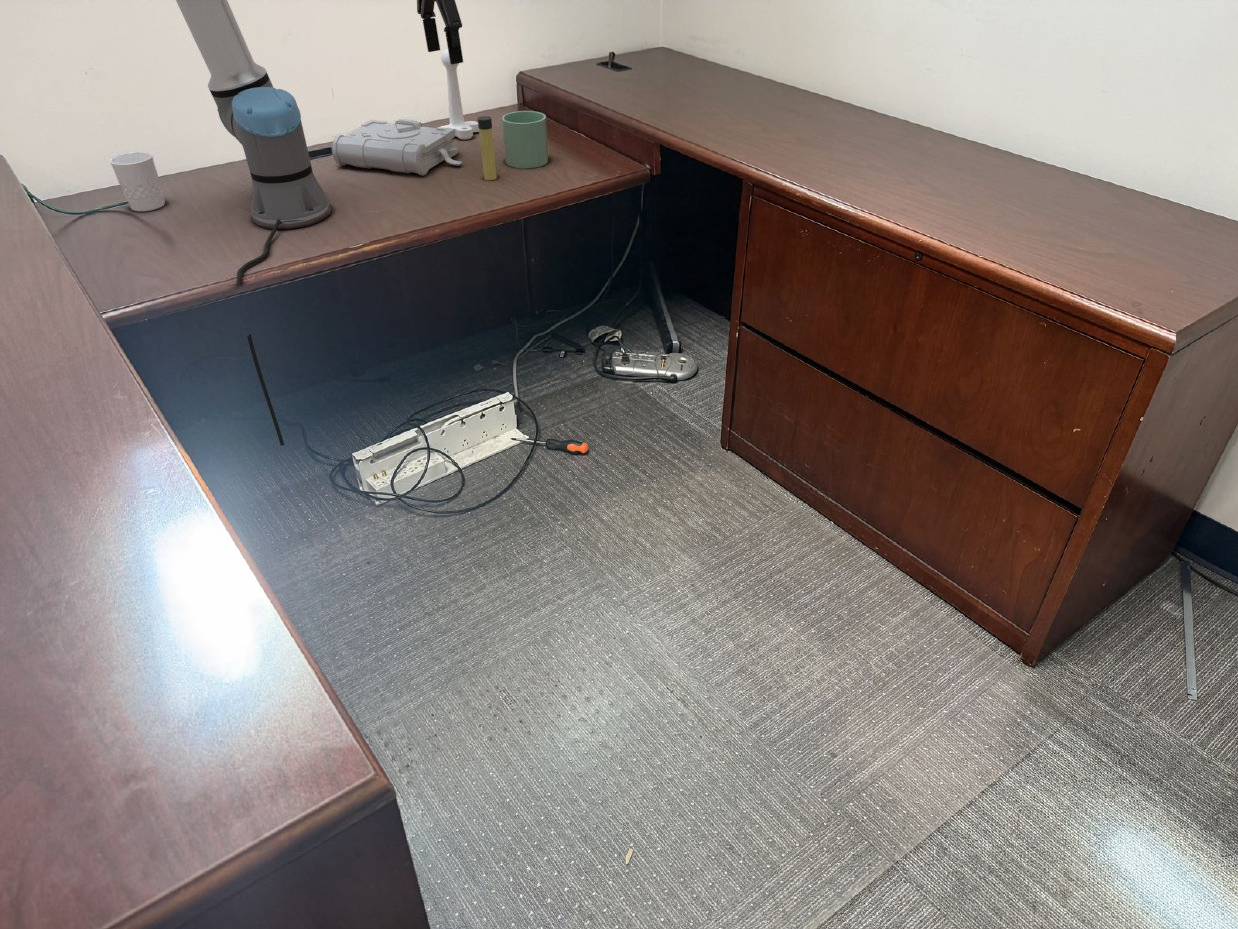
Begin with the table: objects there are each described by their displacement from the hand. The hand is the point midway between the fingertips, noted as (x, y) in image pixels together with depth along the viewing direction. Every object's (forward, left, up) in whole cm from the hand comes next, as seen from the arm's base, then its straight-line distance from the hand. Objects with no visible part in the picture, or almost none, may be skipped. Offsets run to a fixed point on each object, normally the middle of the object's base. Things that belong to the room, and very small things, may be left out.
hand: (445, 56), depth 186 cm
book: (+1, +12, -23) cm, 26 cm away
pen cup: (-4, -16, -22) cm, 28 cm away
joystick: (+18, -1, -23) cm, 29 cm away
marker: (-14, -7, -22) cm, 27 cm away
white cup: (-18, +65, -23) cm, 71 cm away
